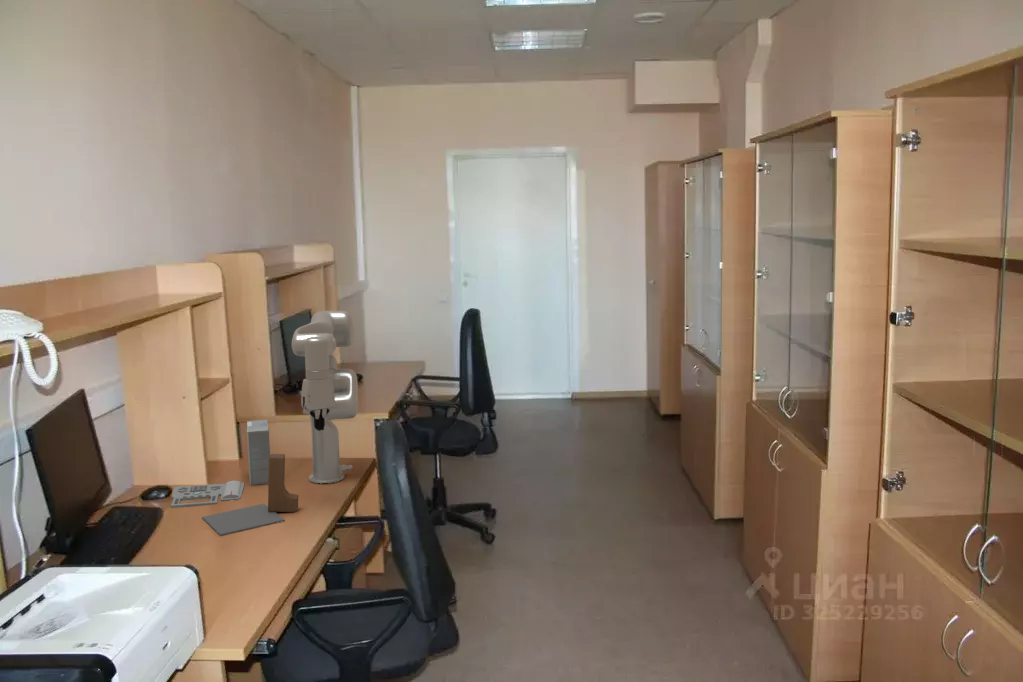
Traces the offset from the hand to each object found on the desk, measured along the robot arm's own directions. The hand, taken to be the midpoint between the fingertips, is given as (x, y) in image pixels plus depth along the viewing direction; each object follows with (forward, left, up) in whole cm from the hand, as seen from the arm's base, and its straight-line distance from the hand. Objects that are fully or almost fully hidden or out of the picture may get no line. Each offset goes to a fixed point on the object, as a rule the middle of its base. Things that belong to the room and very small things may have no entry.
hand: (319, 429), depth 268 cm
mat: (+26, 0, -25) cm, 36 cm away
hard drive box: (+7, -37, -25) cm, 45 cm away
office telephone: (+28, -30, -26) cm, 49 cm away
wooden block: (+13, 0, -25) cm, 28 cm away
